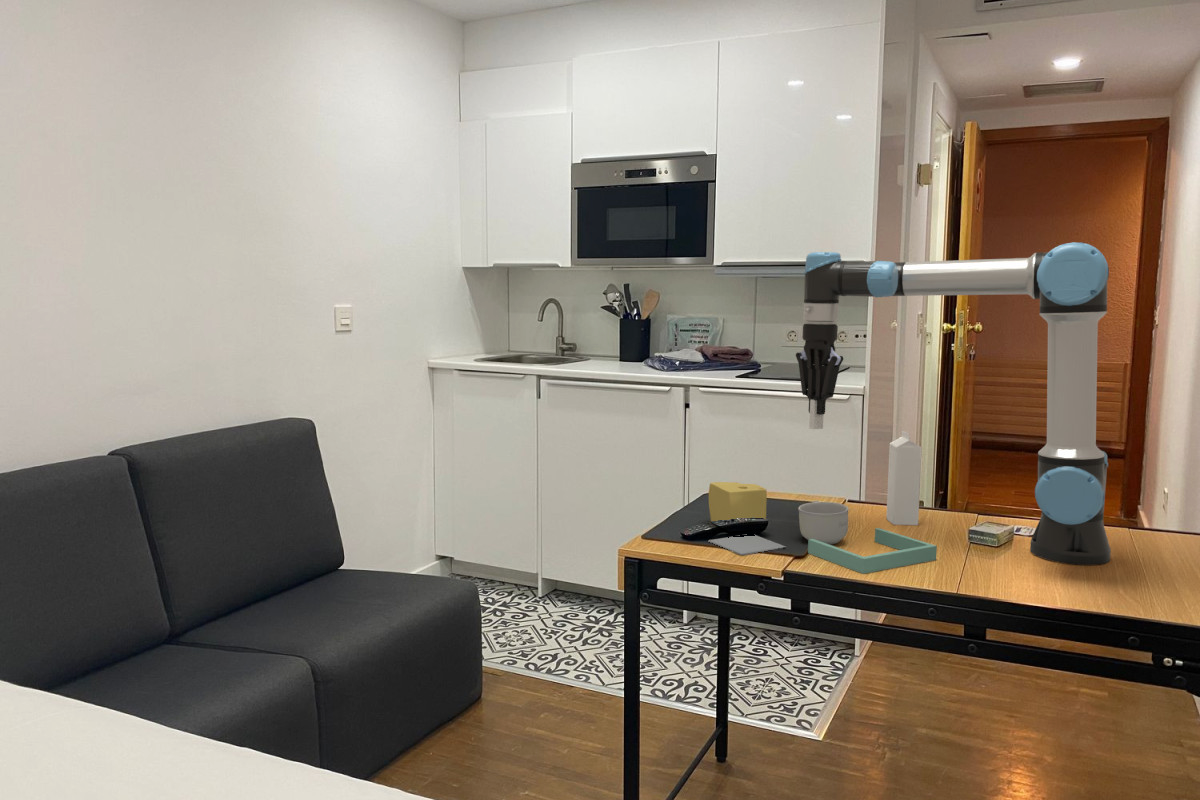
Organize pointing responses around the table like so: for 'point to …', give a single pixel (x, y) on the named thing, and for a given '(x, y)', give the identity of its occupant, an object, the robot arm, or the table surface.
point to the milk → (903, 481)
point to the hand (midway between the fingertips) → (816, 428)
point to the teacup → (823, 521)
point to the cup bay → (906, 554)
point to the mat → (746, 544)
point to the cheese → (736, 501)
